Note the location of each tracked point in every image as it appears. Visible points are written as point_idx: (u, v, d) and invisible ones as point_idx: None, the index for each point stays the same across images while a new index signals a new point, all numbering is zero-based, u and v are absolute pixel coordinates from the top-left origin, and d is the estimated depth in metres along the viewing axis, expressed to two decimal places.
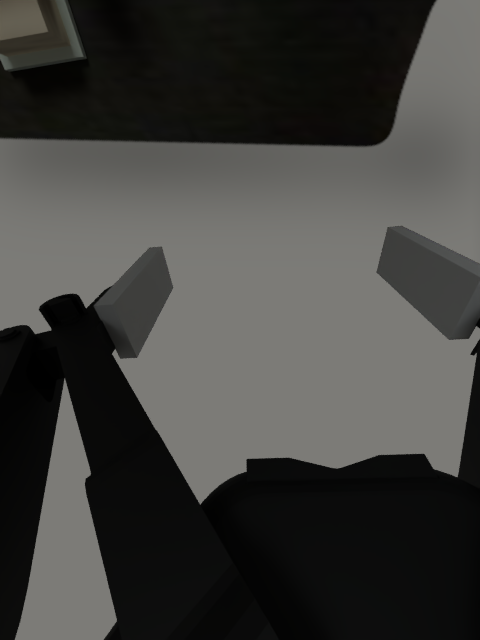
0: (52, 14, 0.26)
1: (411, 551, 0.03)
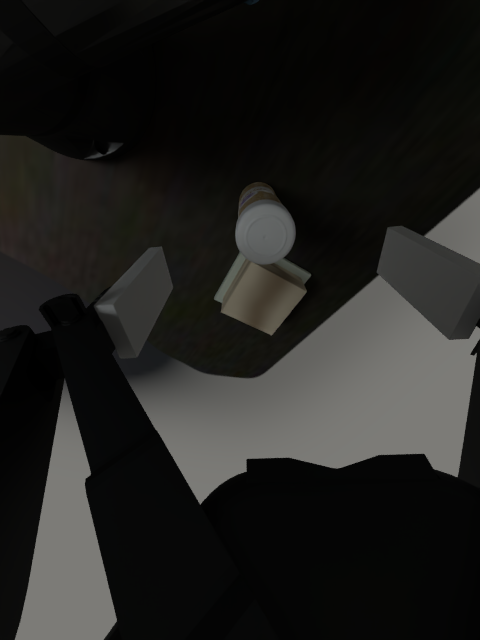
0: (292, 277, 0.32)
1: (410, 551, 0.03)
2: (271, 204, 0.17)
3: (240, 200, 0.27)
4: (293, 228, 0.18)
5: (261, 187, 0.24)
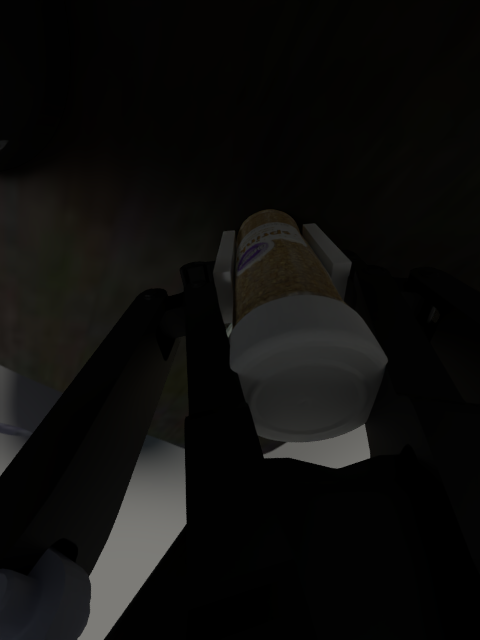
0: None
1: (410, 551, 0.03)
2: (333, 332, 0.05)
3: (238, 242, 0.15)
4: None
5: (278, 226, 0.12)
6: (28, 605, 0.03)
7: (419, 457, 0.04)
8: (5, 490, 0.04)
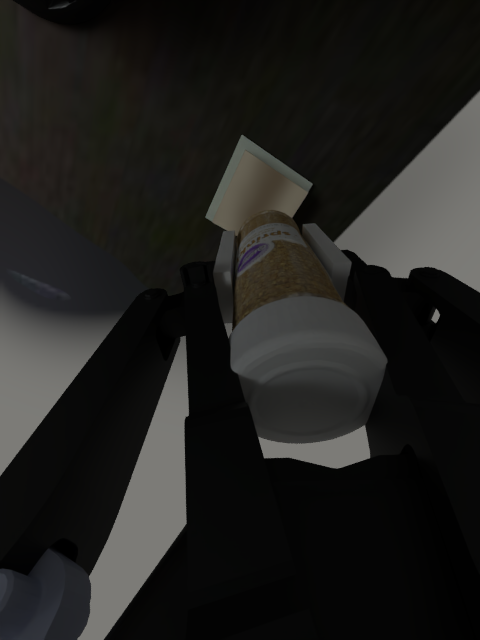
0: None
1: (410, 551, 0.03)
2: (333, 333, 0.05)
3: (238, 242, 0.15)
4: None
5: (278, 227, 0.12)
6: (28, 605, 0.03)
7: (419, 457, 0.04)
8: (5, 490, 0.04)
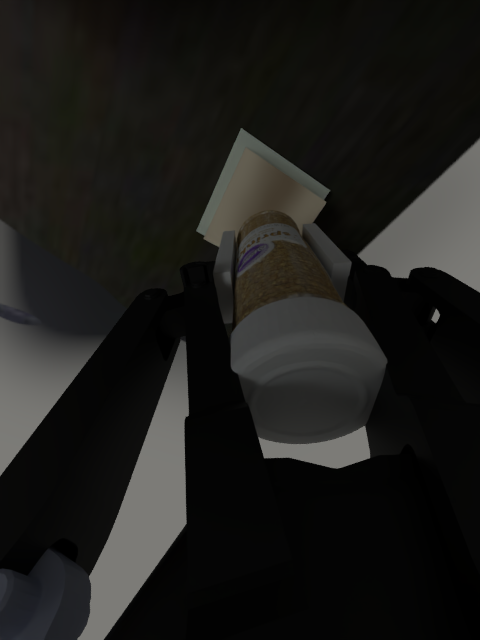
0: None
1: (409, 550, 0.03)
2: (333, 334, 0.05)
3: (238, 242, 0.15)
4: None
5: (278, 227, 0.12)
6: (28, 605, 0.03)
7: (419, 457, 0.04)
8: (5, 490, 0.04)
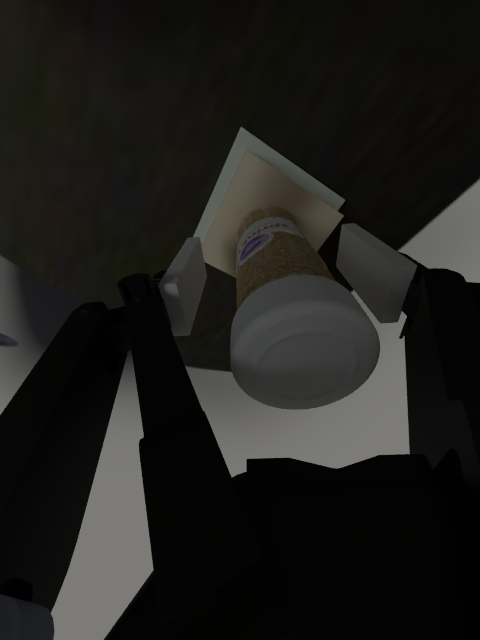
0: None
1: (409, 550, 0.03)
2: (327, 302, 0.06)
3: (239, 236, 0.16)
4: (377, 352, 0.07)
5: (277, 220, 0.13)
6: None
7: (463, 460, 0.04)
8: None
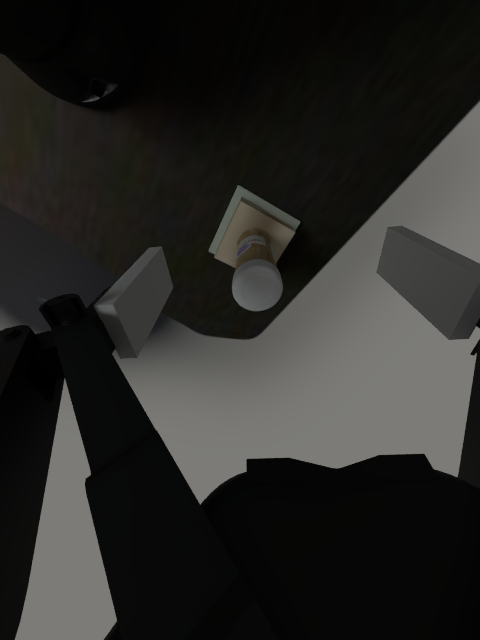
0: (281, 221, 0.33)
1: (410, 551, 0.03)
2: (261, 266, 0.20)
3: (238, 245, 0.31)
4: (280, 283, 0.21)
5: (255, 237, 0.28)
6: None
7: None
8: None
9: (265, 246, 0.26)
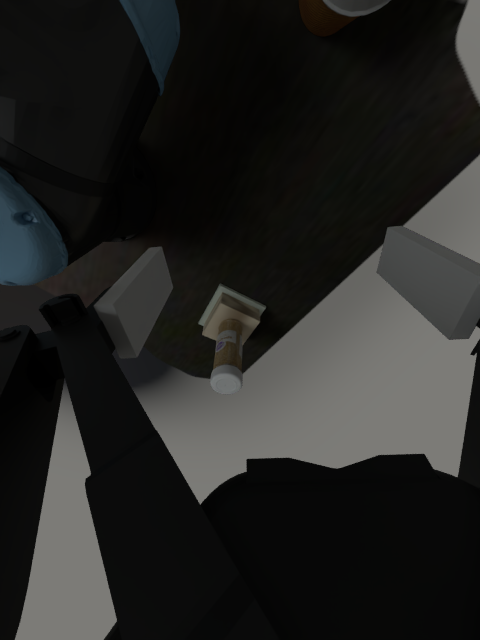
0: (251, 310, 0.46)
1: (410, 551, 0.03)
2: (227, 373, 0.33)
3: None
4: (240, 382, 0.34)
5: (229, 333, 0.40)
6: None
7: None
8: None
9: (235, 344, 0.39)
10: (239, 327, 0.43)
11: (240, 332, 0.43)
